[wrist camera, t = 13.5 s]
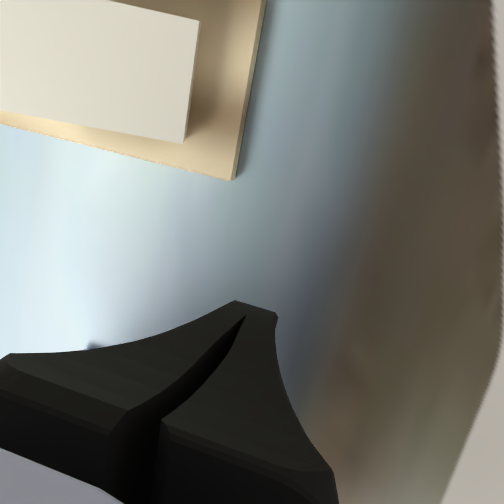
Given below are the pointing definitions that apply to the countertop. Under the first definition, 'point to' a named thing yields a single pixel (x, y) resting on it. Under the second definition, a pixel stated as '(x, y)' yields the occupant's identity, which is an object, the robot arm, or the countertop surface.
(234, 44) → the oak strip
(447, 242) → the countertop surface
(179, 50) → the domino
